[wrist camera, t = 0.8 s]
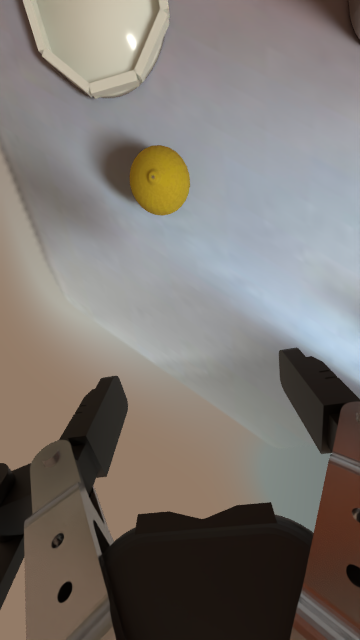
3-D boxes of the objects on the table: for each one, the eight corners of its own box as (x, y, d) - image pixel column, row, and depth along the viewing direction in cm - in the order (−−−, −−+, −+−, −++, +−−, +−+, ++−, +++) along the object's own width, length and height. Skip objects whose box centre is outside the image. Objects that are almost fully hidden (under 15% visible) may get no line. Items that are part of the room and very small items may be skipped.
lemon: (132, 197, 26) (107, 191, 18) (155, 145, 23) (136, 114, 16) (175, 224, 26) (166, 228, 19) (200, 176, 24) (202, 160, 17)
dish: (64, -156, 16) (49, -198, 15) (194, -23, 18) (194, -46, 17) (17, 38, 21) (1, 23, 19) (126, 127, 23) (121, 120, 21)
